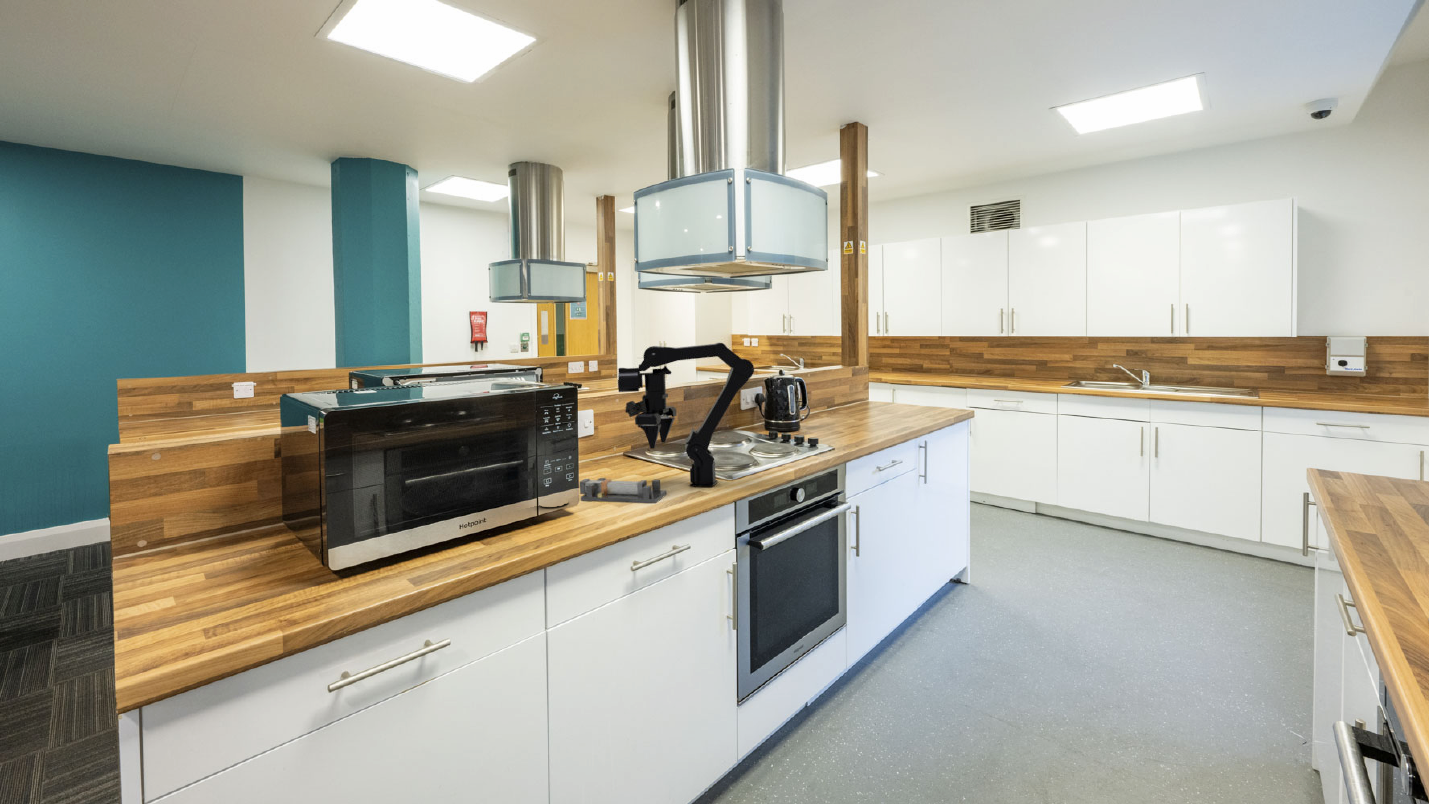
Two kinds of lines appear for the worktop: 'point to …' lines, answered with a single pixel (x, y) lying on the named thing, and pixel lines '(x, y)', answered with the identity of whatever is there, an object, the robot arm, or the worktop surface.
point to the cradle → (647, 497)
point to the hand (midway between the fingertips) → (658, 445)
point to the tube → (614, 486)
